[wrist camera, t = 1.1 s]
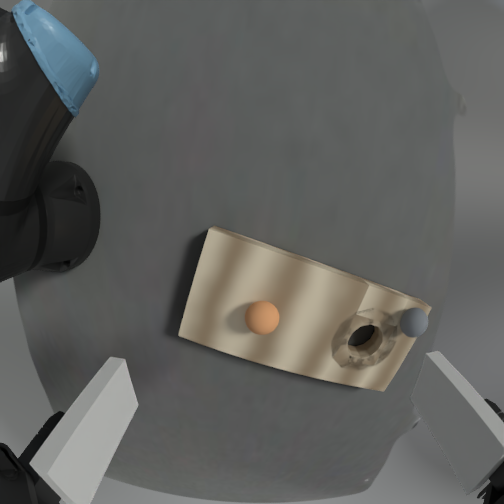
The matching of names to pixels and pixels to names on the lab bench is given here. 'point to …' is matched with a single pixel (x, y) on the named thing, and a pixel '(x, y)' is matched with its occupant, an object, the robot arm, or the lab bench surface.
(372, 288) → the board
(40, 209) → the robot arm
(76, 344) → the lab bench surface
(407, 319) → the grey ball
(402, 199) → the lab bench surface
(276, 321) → the ball
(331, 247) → the lab bench surface
